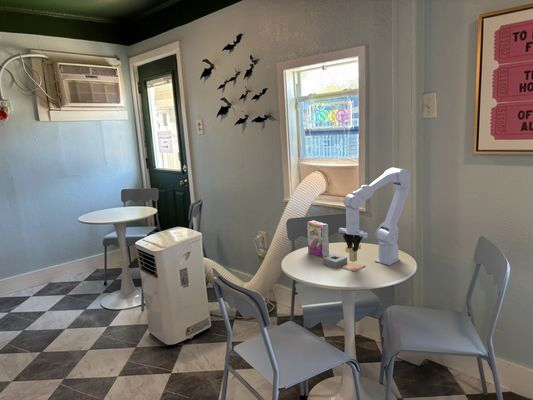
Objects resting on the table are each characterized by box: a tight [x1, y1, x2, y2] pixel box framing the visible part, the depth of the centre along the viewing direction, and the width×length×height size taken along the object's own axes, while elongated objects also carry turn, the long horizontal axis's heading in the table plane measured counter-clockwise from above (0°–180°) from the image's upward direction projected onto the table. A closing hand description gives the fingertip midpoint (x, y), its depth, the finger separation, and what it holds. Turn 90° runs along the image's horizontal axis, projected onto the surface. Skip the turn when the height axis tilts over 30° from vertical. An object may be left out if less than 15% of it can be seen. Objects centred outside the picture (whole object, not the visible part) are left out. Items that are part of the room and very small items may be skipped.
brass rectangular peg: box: [344, 243, 362, 263], centre depth 176 cm, size 8×2×7 cm, turn 131°
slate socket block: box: [322, 253, 348, 269], centre depth 183 cm, size 8×8×3 cm
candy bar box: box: [306, 220, 330, 258], centre depth 196 cm, size 11×5×16 cm, turn 34°
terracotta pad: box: [341, 261, 366, 273], centre depth 177 cm, size 8×7×1 cm
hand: (353, 250), depth 176 cm, fingers closed on brass rectangular peg, 2 cm apart
